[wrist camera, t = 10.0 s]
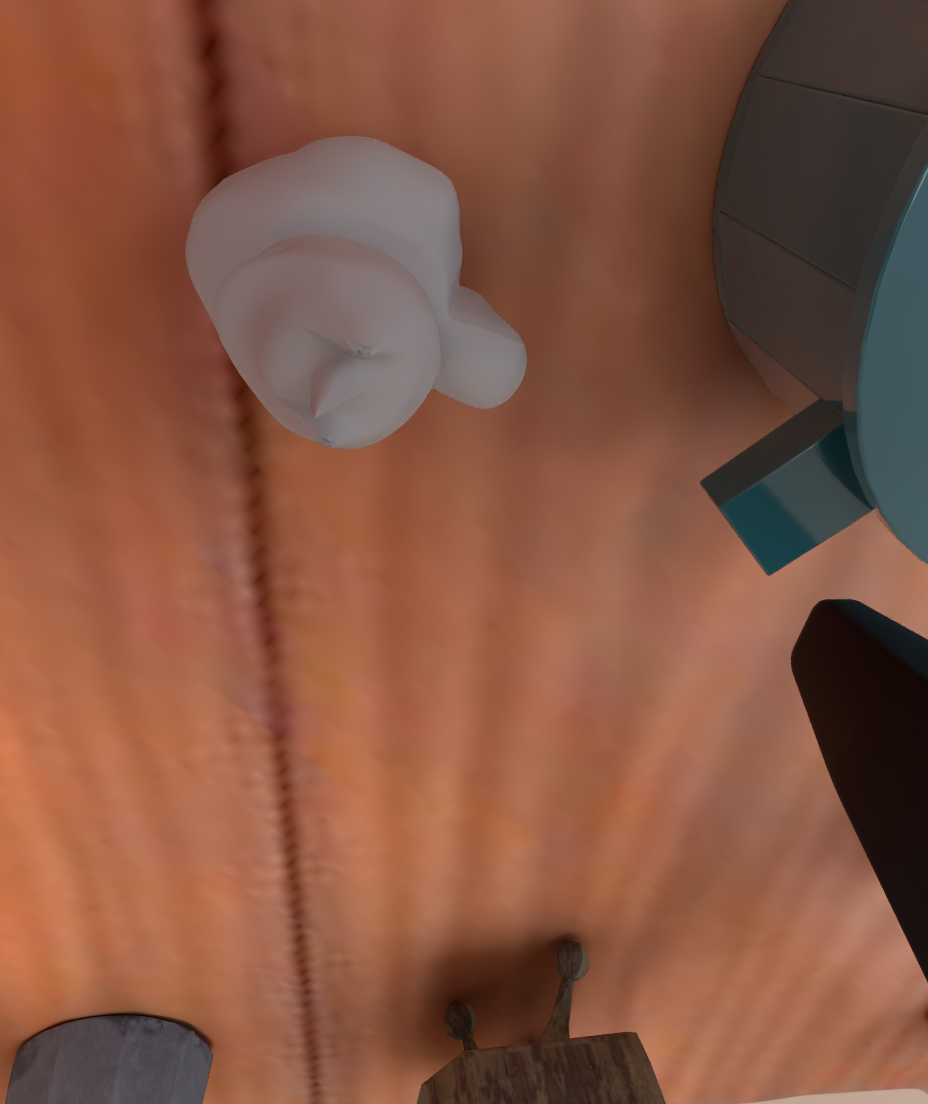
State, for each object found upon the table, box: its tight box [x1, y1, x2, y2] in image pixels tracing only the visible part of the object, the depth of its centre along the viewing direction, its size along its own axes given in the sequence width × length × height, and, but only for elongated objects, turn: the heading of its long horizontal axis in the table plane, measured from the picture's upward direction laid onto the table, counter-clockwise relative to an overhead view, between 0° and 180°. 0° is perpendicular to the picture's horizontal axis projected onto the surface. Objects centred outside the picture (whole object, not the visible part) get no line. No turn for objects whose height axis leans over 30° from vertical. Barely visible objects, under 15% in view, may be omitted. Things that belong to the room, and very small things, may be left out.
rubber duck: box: [185, 136, 527, 449], centre depth 14 cm, size 5×7×8 cm
